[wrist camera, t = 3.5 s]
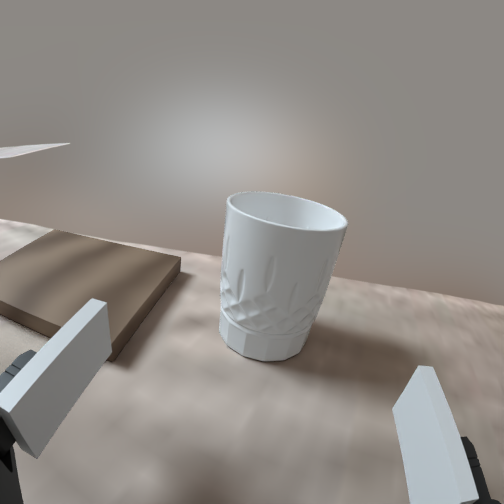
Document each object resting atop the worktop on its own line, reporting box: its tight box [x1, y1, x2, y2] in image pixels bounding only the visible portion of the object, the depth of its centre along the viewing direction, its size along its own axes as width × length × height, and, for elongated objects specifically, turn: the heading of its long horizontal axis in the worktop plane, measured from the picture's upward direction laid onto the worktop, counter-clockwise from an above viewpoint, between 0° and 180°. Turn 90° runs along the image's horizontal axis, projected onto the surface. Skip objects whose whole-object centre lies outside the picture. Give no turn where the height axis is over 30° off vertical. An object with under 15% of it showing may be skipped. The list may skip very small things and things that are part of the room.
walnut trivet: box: [0, 229, 181, 362], centre depth 25 cm, size 16×14×2 cm
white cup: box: [219, 192, 348, 361], centre depth 23 cm, size 8×8×10 cm
